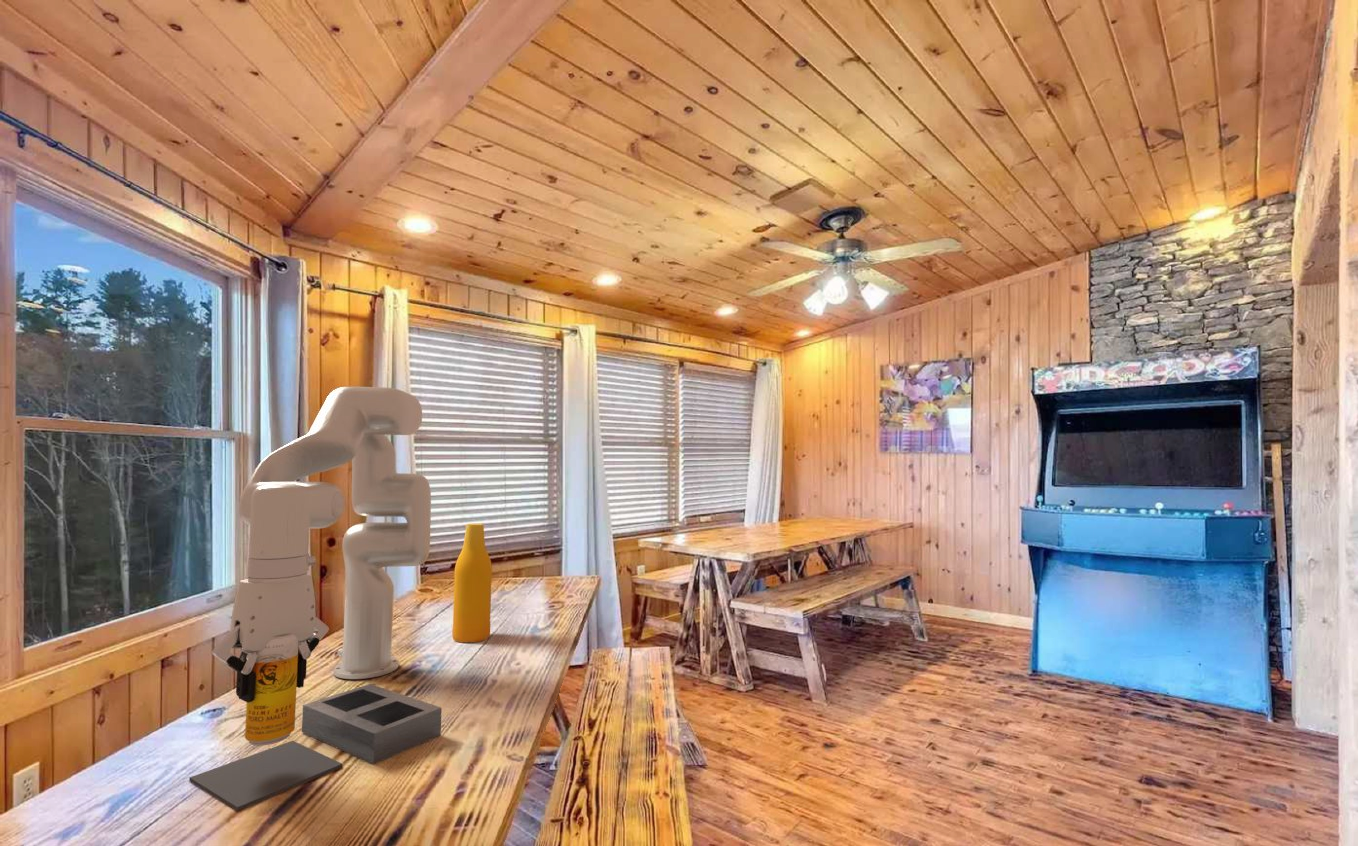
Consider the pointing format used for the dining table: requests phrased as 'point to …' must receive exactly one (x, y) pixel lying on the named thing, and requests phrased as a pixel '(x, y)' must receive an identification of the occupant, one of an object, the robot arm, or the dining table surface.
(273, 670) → the beer can
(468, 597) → the beer bottle
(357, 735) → the cinder block
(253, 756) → the mat
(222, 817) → the dining table surface
